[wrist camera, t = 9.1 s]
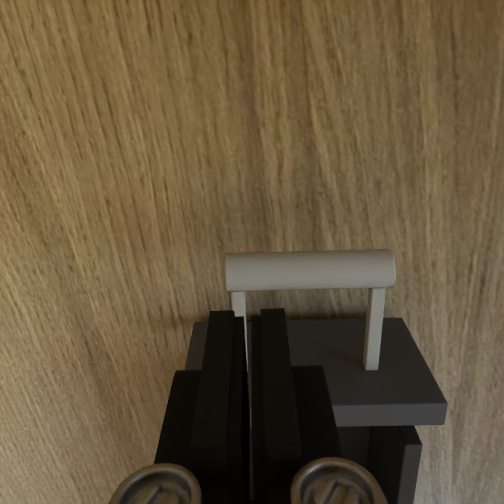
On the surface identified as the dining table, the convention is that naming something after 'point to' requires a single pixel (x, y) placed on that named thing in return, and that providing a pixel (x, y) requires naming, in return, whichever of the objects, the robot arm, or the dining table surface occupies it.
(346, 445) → the drawer
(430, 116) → the dining table surface
